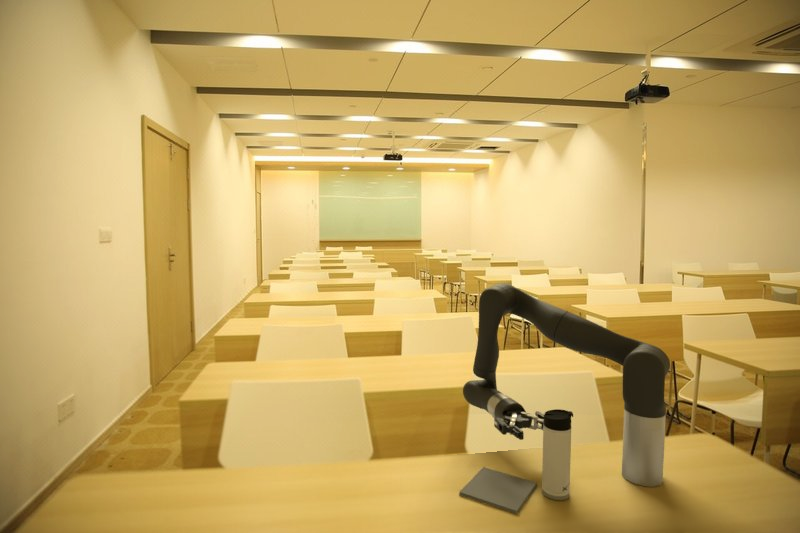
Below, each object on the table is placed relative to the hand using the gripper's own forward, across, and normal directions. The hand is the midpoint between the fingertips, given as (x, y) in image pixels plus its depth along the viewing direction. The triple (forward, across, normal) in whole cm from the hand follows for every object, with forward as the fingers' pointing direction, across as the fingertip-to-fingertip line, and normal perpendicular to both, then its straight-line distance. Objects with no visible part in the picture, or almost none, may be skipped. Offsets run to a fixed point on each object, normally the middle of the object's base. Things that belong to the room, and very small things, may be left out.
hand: (537, 433), depth 122 cm
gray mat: (+3, -12, +11) cm, 17 cm away
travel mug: (+8, 0, +11) cm, 14 cm away
